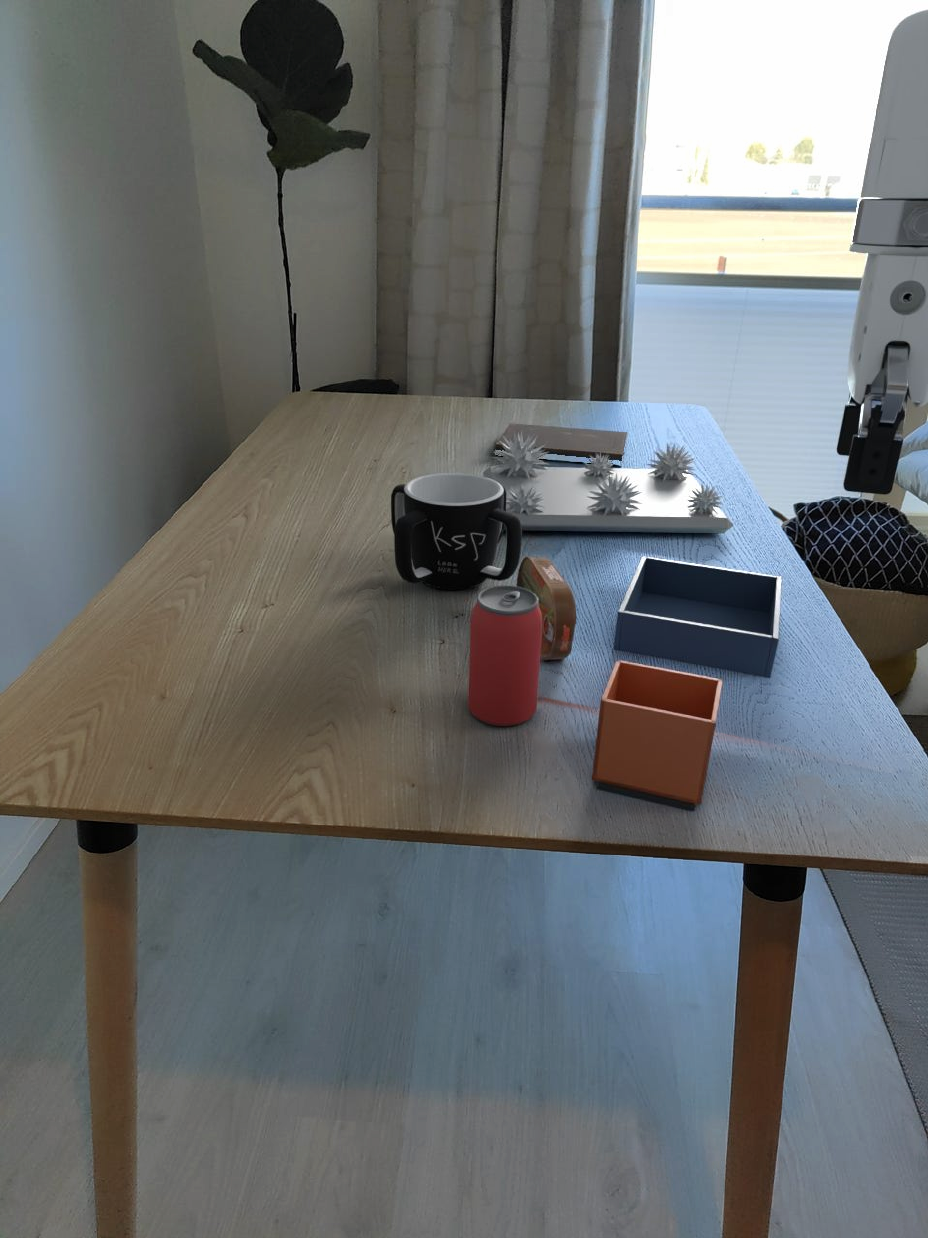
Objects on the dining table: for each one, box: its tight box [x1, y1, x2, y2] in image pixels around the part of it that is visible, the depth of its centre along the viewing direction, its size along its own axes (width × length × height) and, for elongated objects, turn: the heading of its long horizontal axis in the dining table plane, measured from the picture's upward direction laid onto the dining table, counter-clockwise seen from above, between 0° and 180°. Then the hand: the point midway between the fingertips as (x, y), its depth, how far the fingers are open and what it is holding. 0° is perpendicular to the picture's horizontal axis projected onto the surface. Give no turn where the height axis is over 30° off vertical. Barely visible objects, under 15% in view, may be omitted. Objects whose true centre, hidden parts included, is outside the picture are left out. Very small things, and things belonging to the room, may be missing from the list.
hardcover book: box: [494, 422, 628, 462], centre depth 161 cm, size 16×23×2 cm
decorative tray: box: [482, 430, 734, 534], centre depth 131 cm, size 35×26×10 cm
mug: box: [390, 472, 523, 591], centre depth 106 cm, size 16×16×12 cm
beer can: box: [467, 584, 543, 727], centre depth 79 cm, size 7×7×12 cm
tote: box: [613, 555, 783, 679], centre depth 96 cm, size 16×16×5 cm
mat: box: [596, 782, 696, 812], centre depth 74 cm, size 8×8×1 cm
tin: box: [516, 556, 577, 662], centre depth 93 cm, size 15×3×8 cm, turn 10°
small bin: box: [591, 659, 724, 806], centre depth 72 cm, size 9×7×8 cm
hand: (861, 472), depth 66 cm, fingers open, 9 cm apart
